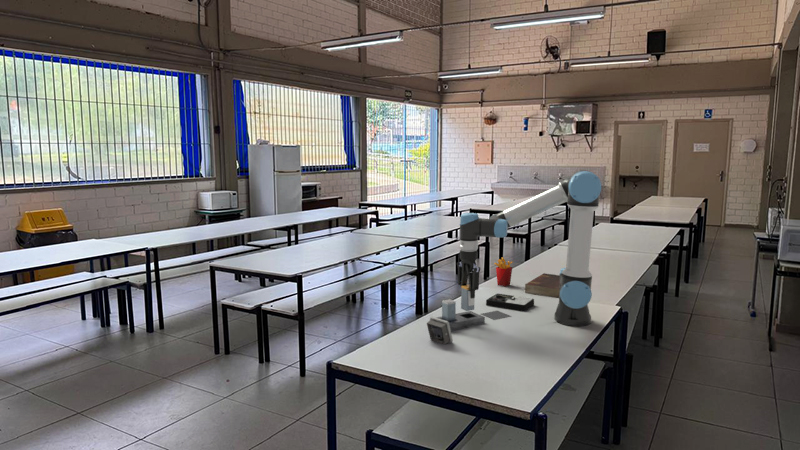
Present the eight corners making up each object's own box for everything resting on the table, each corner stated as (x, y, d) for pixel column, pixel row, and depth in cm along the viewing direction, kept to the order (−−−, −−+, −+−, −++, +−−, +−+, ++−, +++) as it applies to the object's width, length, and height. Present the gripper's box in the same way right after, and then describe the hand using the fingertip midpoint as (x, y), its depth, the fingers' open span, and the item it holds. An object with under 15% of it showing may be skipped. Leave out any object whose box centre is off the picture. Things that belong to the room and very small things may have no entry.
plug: (474, 309, 228) (474, 286, 226) (466, 311, 226) (467, 288, 224) (468, 307, 231) (469, 284, 230) (461, 308, 229) (461, 285, 228)
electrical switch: (453, 342, 206) (451, 320, 204) (444, 347, 202) (442, 324, 200) (435, 337, 212) (433, 314, 210) (426, 341, 209) (424, 319, 207)
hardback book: (561, 298, 266) (561, 289, 265) (525, 293, 276) (525, 284, 275) (577, 286, 289) (577, 277, 289) (543, 281, 300) (543, 273, 299)
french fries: (512, 284, 292) (513, 257, 290) (504, 287, 286) (504, 260, 284) (498, 282, 298) (499, 255, 296) (490, 285, 292) (490, 258, 290)
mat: (512, 317, 236) (512, 316, 236) (494, 320, 231) (494, 319, 231) (497, 311, 245) (497, 310, 245) (479, 314, 240) (479, 313, 240)
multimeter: (496, 300, 264) (496, 290, 263) (534, 306, 254) (534, 295, 253) (485, 307, 253) (485, 296, 252) (524, 313, 243) (525, 302, 242)
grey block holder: (484, 323, 227) (484, 298, 226) (445, 331, 218) (445, 305, 216) (470, 317, 236) (470, 293, 234) (432, 325, 226) (432, 299, 225)
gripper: (449, 247, 230) (449, 300, 234) (473, 254, 216) (472, 310, 219) (463, 245, 234) (463, 297, 237) (488, 252, 219) (487, 307, 223)
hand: (467, 303), depth 228 cm, fingers closed on plug, 4 cm apart
